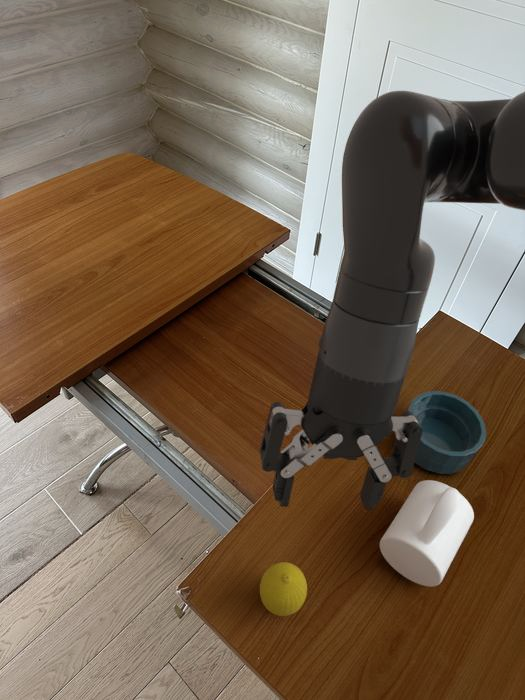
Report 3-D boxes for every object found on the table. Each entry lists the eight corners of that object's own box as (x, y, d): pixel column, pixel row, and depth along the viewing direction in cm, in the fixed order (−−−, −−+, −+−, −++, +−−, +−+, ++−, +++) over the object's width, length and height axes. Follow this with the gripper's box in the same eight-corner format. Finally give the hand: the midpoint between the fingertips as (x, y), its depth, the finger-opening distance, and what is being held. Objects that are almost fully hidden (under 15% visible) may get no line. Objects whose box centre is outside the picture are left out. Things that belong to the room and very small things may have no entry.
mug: (372, 553, 68) (396, 514, 59) (407, 498, 74) (434, 454, 65) (428, 595, 65) (463, 561, 56) (461, 534, 71) (497, 494, 62)
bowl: (484, 447, 81) (500, 426, 76) (442, 491, 75) (457, 470, 71) (425, 401, 86) (437, 379, 82) (382, 439, 80) (392, 417, 76)
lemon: (252, 616, 62) (257, 596, 56) (263, 570, 66) (268, 546, 60) (297, 629, 61) (306, 610, 55) (306, 582, 65) (315, 559, 59)
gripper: (287, 372, 39) (257, 529, 46) (460, 385, 41) (406, 533, 48) (274, 330, 46) (250, 473, 53) (424, 344, 48) (381, 479, 55)
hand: (324, 502), depth 51 cm, fingers open, 8 cm apart
